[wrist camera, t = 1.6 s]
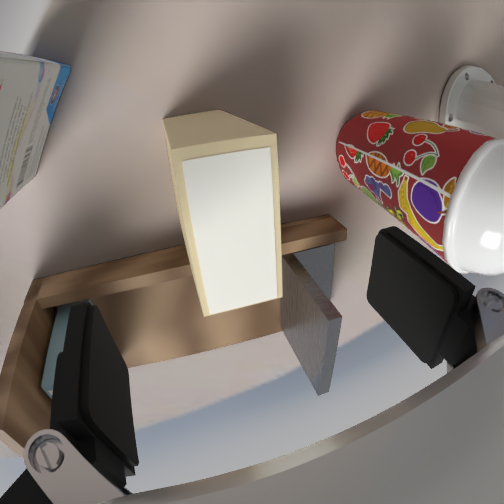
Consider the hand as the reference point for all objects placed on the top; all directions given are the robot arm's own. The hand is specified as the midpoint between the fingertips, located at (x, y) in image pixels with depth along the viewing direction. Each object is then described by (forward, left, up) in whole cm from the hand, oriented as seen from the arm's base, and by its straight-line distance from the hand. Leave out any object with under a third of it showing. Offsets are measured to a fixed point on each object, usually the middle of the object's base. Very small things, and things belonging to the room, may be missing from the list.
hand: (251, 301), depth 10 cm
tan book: (-1, 0, -15) cm, 15 cm away
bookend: (-9, +12, -14) cm, 21 cm away
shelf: (+2, +12, -15) cm, 19 cm away
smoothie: (-15, 0, -15) cm, 21 cm away
